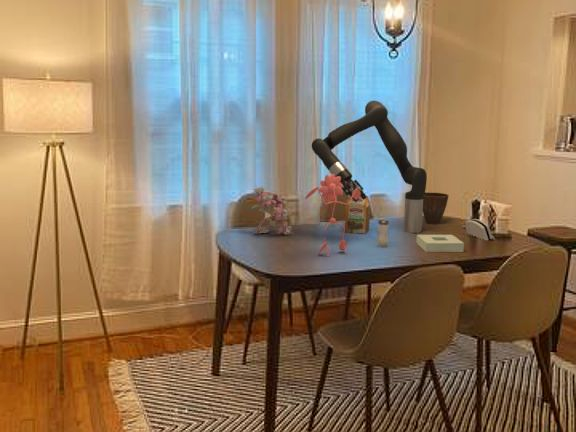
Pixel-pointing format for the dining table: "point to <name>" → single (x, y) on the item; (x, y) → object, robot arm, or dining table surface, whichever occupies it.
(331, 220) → the pink blossom sprig
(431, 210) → the plant pot
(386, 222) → the steel peg
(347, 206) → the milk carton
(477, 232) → the grey napkin holder
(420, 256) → the dining table surface
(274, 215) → the flower
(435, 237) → the hole plate
